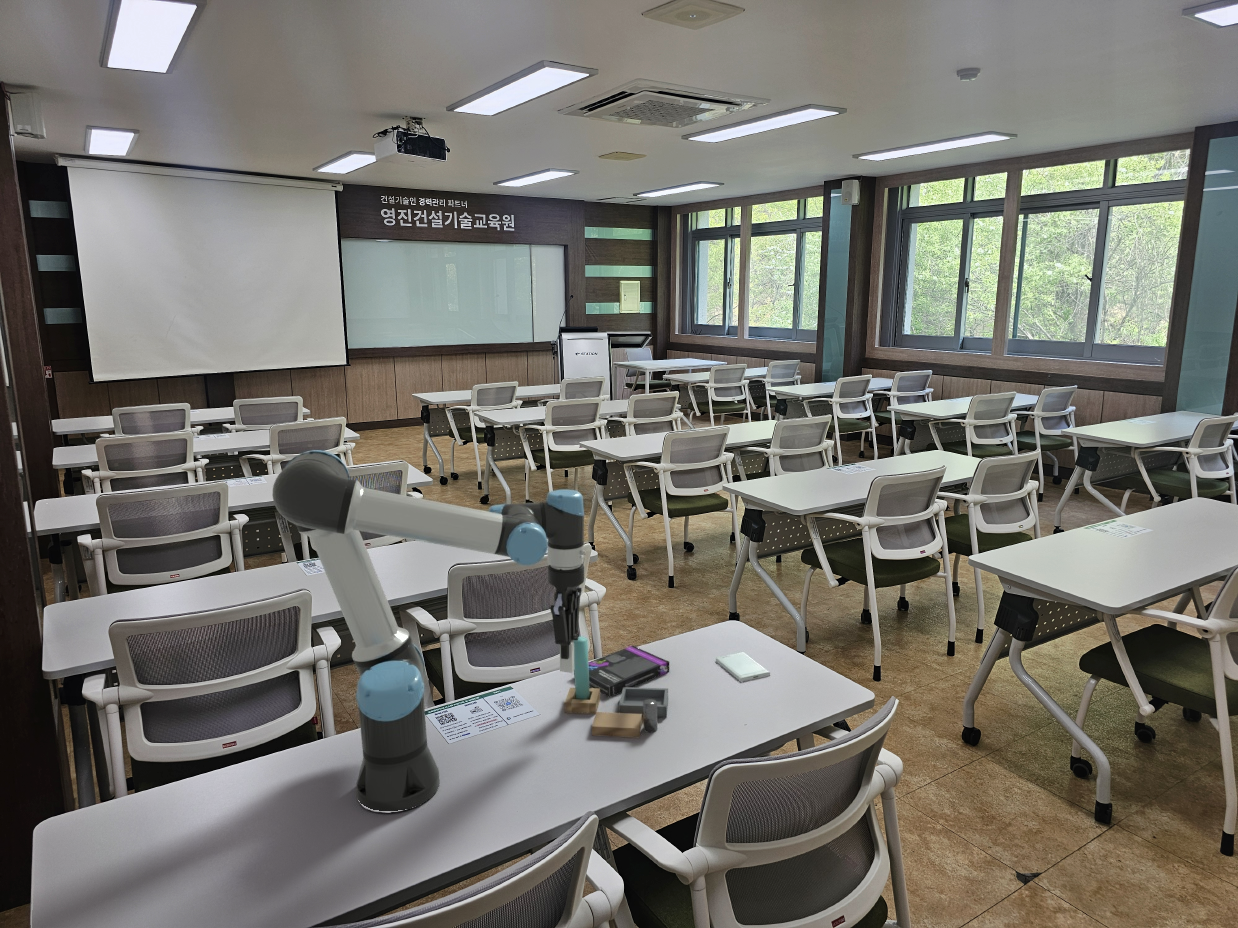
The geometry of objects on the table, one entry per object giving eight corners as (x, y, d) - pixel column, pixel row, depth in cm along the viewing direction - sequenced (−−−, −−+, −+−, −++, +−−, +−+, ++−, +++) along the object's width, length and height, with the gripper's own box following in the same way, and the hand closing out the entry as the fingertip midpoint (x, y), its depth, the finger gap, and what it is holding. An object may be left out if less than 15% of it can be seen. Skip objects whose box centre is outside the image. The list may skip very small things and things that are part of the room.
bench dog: (642, 731, 167) (642, 705, 165) (644, 724, 170) (643, 698, 168) (657, 732, 166) (656, 706, 165) (657, 724, 169) (657, 699, 168)
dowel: (574, 708, 177) (572, 642, 174) (577, 701, 180) (574, 636, 177) (588, 709, 177) (586, 642, 174) (590, 702, 180) (588, 636, 177)
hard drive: (715, 657, 199) (740, 677, 188) (743, 651, 202) (770, 671, 191) (715, 663, 199) (740, 683, 188) (743, 657, 202) (770, 677, 191)
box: (633, 657, 205) (573, 679, 192) (633, 644, 204) (572, 665, 192) (670, 674, 194) (608, 699, 182) (670, 661, 193) (608, 684, 181)
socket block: (565, 712, 175) (564, 702, 175) (570, 697, 182) (570, 687, 182) (596, 713, 175) (595, 703, 174) (600, 698, 181) (599, 688, 181)
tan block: (592, 736, 166) (591, 726, 165) (596, 722, 172) (596, 711, 171) (639, 739, 165) (638, 728, 164) (642, 724, 170) (641, 713, 170)
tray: (619, 715, 173) (619, 705, 173) (623, 697, 182) (623, 687, 181) (666, 717, 172) (666, 706, 172) (668, 698, 180) (668, 688, 180)
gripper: (572, 575, 156) (573, 686, 160) (593, 556, 168) (593, 660, 172) (537, 572, 158) (539, 681, 162) (560, 553, 170) (561, 655, 174)
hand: (567, 670), depth 167 cm, fingers closed
